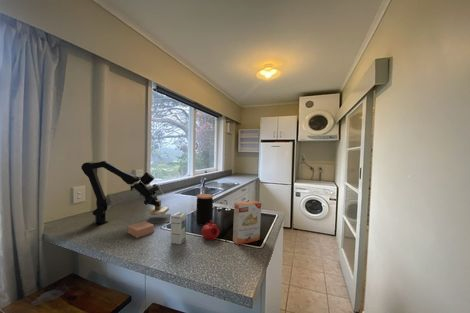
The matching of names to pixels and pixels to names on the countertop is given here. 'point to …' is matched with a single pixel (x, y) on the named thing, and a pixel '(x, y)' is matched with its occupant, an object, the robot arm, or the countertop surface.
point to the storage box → (140, 229)
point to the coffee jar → (204, 209)
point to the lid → (157, 210)
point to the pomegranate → (210, 231)
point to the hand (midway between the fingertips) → (159, 205)
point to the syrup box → (178, 227)
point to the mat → (158, 219)
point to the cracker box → (246, 222)
